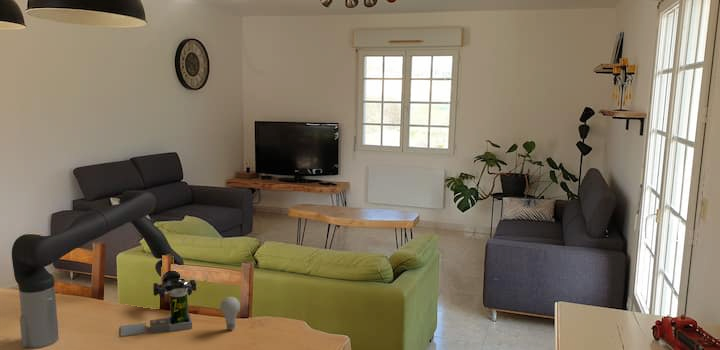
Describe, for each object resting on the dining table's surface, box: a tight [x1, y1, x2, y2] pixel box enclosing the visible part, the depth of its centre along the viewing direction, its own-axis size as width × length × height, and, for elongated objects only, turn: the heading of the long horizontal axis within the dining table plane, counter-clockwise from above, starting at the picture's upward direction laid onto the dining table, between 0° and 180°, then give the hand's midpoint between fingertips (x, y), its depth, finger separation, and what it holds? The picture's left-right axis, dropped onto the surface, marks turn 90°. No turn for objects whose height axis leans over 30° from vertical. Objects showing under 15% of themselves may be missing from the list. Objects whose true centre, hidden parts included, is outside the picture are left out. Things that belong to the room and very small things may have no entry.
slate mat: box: [120, 322, 148, 338], centre depth 177 cm, size 8×8×1 cm
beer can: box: [169, 288, 189, 324], centre depth 179 cm, size 5×5×12 cm
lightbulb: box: [220, 296, 241, 331], centre depth 177 cm, size 6×6×11 cm
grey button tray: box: [149, 313, 193, 334], centre depth 179 cm, size 12×7×3 cm, turn 113°
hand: (176, 294), depth 188 cm, fingers open, 8 cm apart
